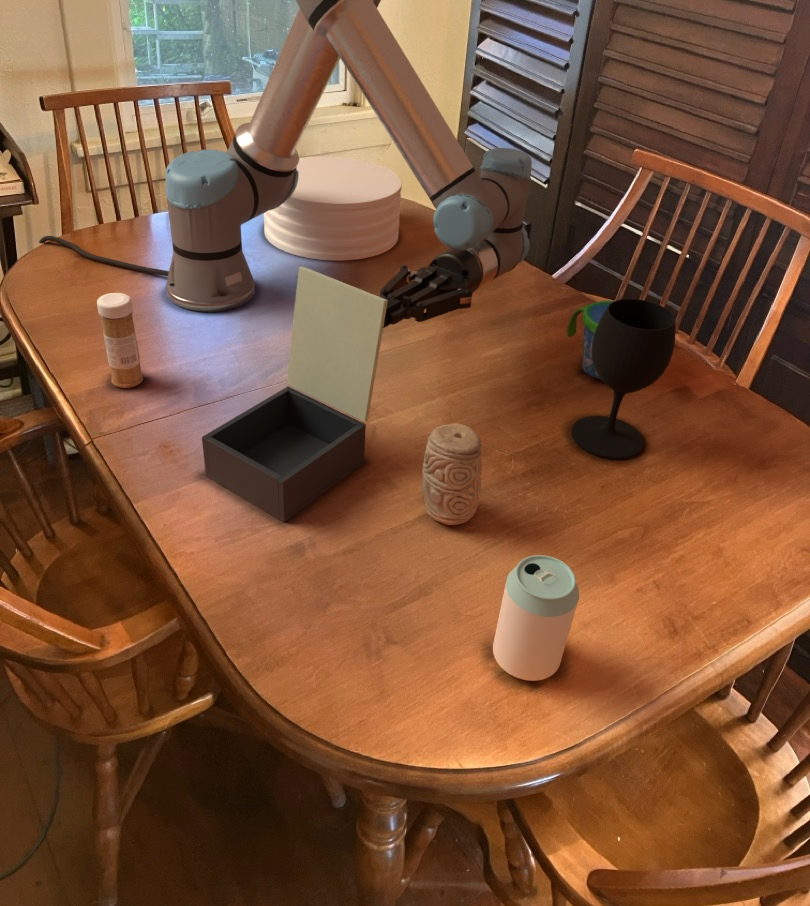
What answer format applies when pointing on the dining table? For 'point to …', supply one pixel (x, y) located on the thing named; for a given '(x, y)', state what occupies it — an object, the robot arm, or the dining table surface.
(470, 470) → the carving
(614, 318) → the wine glass
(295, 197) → the plate stack
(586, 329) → the snack cup
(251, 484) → the dark grey box
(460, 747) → the dining table surface
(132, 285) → the dining table surface
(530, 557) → the can
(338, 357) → the cover
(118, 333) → the sprinkles bottle
